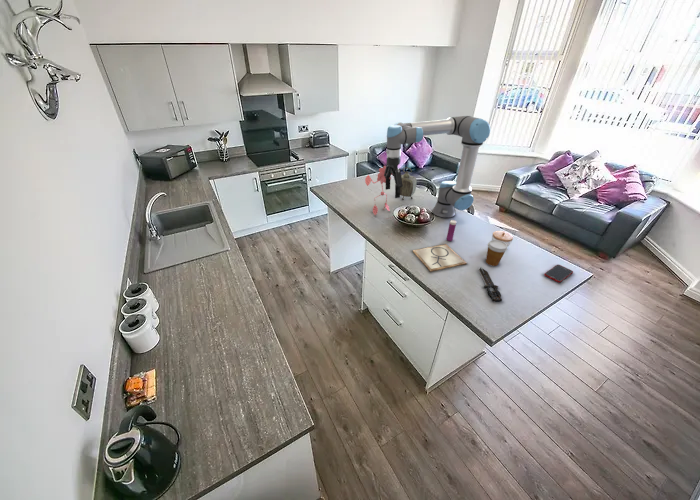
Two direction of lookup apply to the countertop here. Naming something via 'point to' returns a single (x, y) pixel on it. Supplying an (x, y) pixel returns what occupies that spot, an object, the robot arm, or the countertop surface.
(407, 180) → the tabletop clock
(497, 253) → the disposable coffee cup
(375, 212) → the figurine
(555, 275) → the cell phone
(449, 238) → the dot marker
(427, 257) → the drawing board
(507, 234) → the lidded sugar bowl
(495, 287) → the knife
